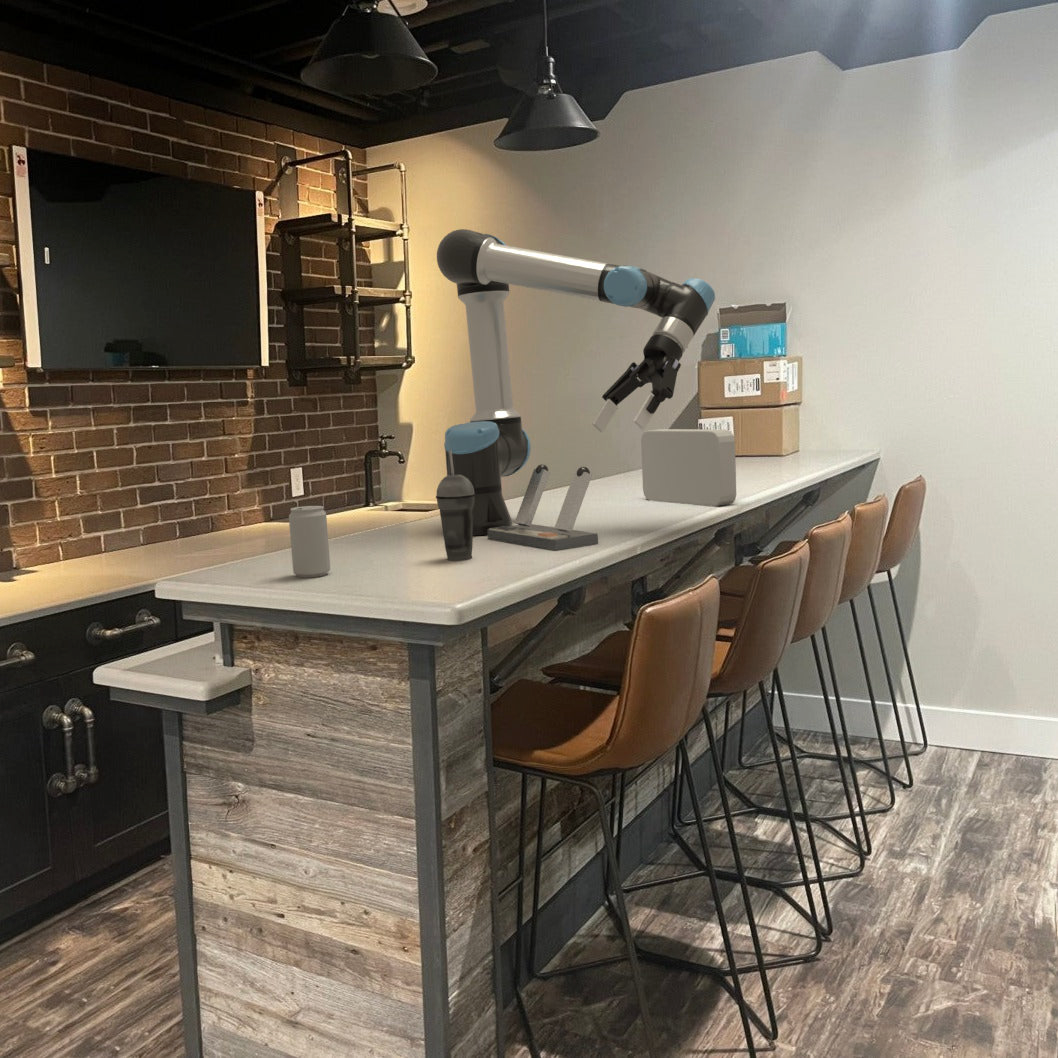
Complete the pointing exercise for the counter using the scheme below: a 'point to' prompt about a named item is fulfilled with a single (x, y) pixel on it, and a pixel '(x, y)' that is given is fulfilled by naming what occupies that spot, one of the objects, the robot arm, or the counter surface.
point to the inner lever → (532, 496)
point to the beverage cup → (456, 514)
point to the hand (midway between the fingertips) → (617, 427)
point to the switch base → (542, 537)
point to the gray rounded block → (689, 466)
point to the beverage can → (309, 541)
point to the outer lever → (573, 500)
